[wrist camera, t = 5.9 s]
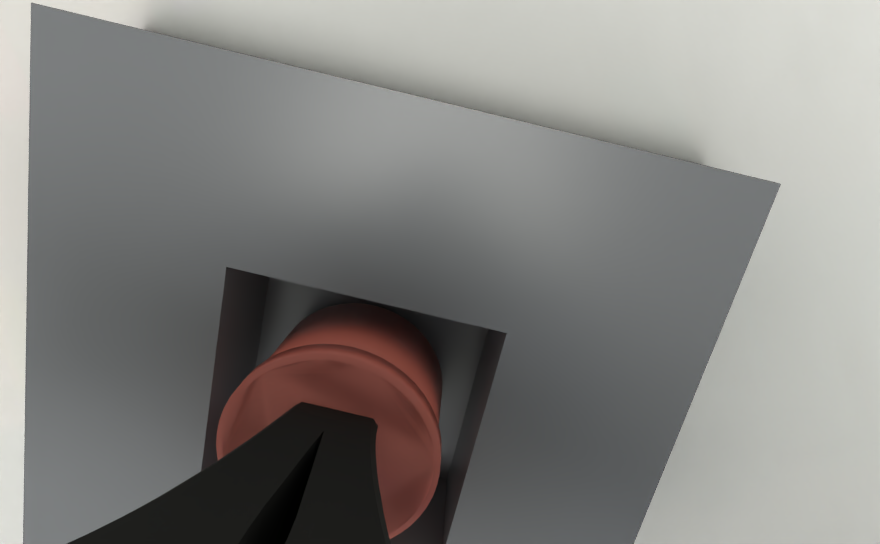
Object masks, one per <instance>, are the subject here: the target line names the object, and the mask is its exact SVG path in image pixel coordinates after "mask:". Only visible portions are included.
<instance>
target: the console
mask: <svg viewBox="0 0 880 544" xmlns="http://www.w3.org/2000/svg"><path fill="white" fill-rule="evenodd" d="M780 185H781V184H779V183H775V182H771V181H767V180H763V179H759V178H755V177H750V176H746V175H742V174H738V173H734V172H730V171H726V170H721V169H717V168H713V167H709V166H705V165H701V164H697V163H693V162H688V161H684V160H680V159H676V158H672V157H668V156H664V155H659V154H655V153H651V152H647V151H643V150H639V149H635V148H630V147H626V146H622V145H618V144H614V143H610V142H606V141H602V140H597V139H593V138H589V137H585V136H581V135H577V134H573V133H568V132H564V131H560V130H556V129H552V128H548V127H544V126H540V125H535V124H531V123H527V122H523V121H519V120H515V119H511V118H506V117H502V116H498V115H494V114H490V113H486V112H482V111H477V110H473V109H469V108H465V107H461V106H457V105H453V104H449V103H444V102H440V101H436V100H432V99H428V98H424V97H420V96H415V95H411V94H407V93H403V92H399V91H395V90H391V89H386V88H382V87H378V86H374V85H370V84H366V83H362V82H358V81H353V80H349V79H345V78H341V77H337V76H333V75H329V74H324V73H320V72H316V71H312V70H308V69H304V68H300V67H295V66H291V65H287V64H283V63H279V62H275V61H271V60H267V59H262V58H258V57H254V56H250V55H246V54H242V53H238V52H233V51H229V50H225V49H221V48H217V47H213V46H209V45H204V44H200V43H196V42H192V41H188V40H184V39H180V38H176V37H171V36H167V35H163V34H159V33H155V32H151V31H147V30H142V29H138V28H134V27H130V26H126V25H122V24H118V23H114V22H109V21H105V20H101V19H97V18H93V17H89V16H85V15H80V14H76V13H72V12H68V11H64V10H60V9H56V8H51V7H47V6H43V5H39V4H35V3H31V47H30V115H29V182H28V250H27V318H26V385H25V453H24V520H23V544H67V543H69V542H71V541H73V540H76V539H78V538H80V537H82V536H84V535H86V534H89V533H91V532H93V531H95V530H97V529H99V528H101V527H103V526H105V525H107V524H109V523H111V522H113V521H115V520H117V519H119V518H121V517H123V516H124V515H126V514H128V513H130V512H132V511H134V510H136V509H138V508H139V507H141V506H143V505H145V504H147V503H148V502H150V501H152V500H154V499H156V498H157V497H159V496H161V495H163V494H164V493H166V492H168V491H169V490H171V489H173V488H174V487H176V486H177V485H179V484H181V483H182V482H184V481H186V480H187V479H189V478H191V477H192V476H194V475H196V474H197V473H199V472H201V471H202V470H204V469H206V468H207V467H209V466H210V465H212V464H213V463H215V462H216V461H218V459H217V449H216V437H217V429H218V424H219V419H220V417H221V414H222V411H223V409H224V407H225V405H226V403H227V401H228V400H229V398H230V396H231V395H232V394H233V392H234V391H235V390H236V389H237V387H238V386H239V385H240V384H241V383H242V381H243V380H244V379H245V378H246V377H247V375H248V374H249V373H251V372H252V371H253V370H254V369H255V368H256V367H257V366H258V365H260V364H261V363H263V362H264V361H265V360H267V359H268V358H270V357H271V355H272V354H273V353H274V352H275V351H276V349H277V348H278V347H279V346H280V344H281V343H282V342H283V341H284V339H285V338H286V337H287V336H288V335H289V333H290V332H291V331H292V330H293V328H294V327H295V326H296V325H298V324H299V323H300V322H301V321H302V320H303V319H305V318H306V317H308V316H309V315H311V314H313V313H314V312H316V311H318V310H321V309H324V308H326V307H329V306H333V305H338V304H347V303H361V304H369V305H374V306H378V307H381V308H385V309H387V310H389V311H392V312H394V313H396V314H398V315H400V316H401V317H403V318H405V319H406V320H408V321H409V322H410V323H411V324H413V325H414V326H415V327H416V328H417V329H418V330H419V331H420V332H421V333H422V334H423V335H424V336H425V338H426V339H427V340H428V341H429V343H430V345H431V346H432V348H433V350H434V351H435V354H436V356H437V358H438V361H439V364H440V368H441V373H442V398H441V408H440V418H439V429H440V434H441V443H442V449H441V465H440V474H439V479H438V484H437V487H436V490H435V492H434V495H433V497H432V499H431V501H430V503H429V505H428V506H427V508H426V509H425V510H424V512H423V513H422V514H421V516H420V517H419V518H418V519H417V520H416V521H415V522H414V523H413V524H412V525H411V526H410V527H408V528H407V529H406V530H404V531H403V532H402V533H400V534H398V535H397V536H395V537H393V538H391V539H390V542H391V544H634V541H635V539H636V537H637V534H638V532H639V529H640V527H641V524H642V522H643V519H644V517H645V515H646V512H647V510H648V507H649V505H650V502H651V500H652V497H653V495H654V493H655V490H656V488H657V485H658V483H659V480H660V478H661V475H662V473H663V471H664V468H665V466H666V463H667V461H668V458H669V456H670V453H671V451H672V449H673V446H674V444H675V441H676V439H677V436H678V434H679V431H680V429H681V427H682V424H683V422H684V419H685V417H686V414H687V412H688V409H689V407H690V405H691V402H692V400H693V397H694V395H695V392H696V390H697V388H698V385H699V383H700V380H701V378H702V375H703V373H704V370H705V368H706V366H707V363H708V361H709V358H710V356H711V353H712V351H713V348H714V346H715V344H716V341H717V339H718V336H719V334H720V331H721V329H722V326H723V324H724V322H725V319H726V317H727V314H728V312H729V309H730V307H731V304H732V302H733V300H734V297H735V295H736V292H737V290H738V287H739V285H740V282H741V280H742V278H743V275H744V273H745V270H746V268H747V265H748V263H749V260H750V258H751V256H752V253H753V251H754V248H755V246H756V243H757V241H758V238H759V236H760V234H761V231H762V229H763V226H764V224H765V221H766V219H767V216H768V214H769V212H770V209H771V207H772V204H773V202H774V199H775V197H776V194H777V192H778V190H779V187H780Z"/></svg>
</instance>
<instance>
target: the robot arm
mask: <svg viewBox="0 0 880 544" xmlns="http://www.w3.org/2000/svg"><path fill="white" fill-rule="evenodd" d="M377 429H378V425H377V424H376V422H375V420H374V419H373V418H369V417H365V416H361V415H356V414H352V413H348V412H344V411H339V410H335V409H331V408H327V407H322V406H318V405H314V404H310V403H305V402H300V403H299V404H297V405H295V406H293V407H292V408H291V409H289V410H288V411H287V412H285V413H284V414H283V415H282V416H280V417H279V418H278V419H276V420H275V421H274V422H272V423H271V424H270V425H268V426H267V427H265V428H264V429H263V430H261V431H260V432H259V433H257V434H256V435H254V436H253V437H252V438H250V439H249V440H247V441H246V442H244V443H243V444H241V445H240V446H239V447H237V448H236V449H234V450H233V451H231V452H230V453H228V454H227V455H225V456H224V457H222V458H221V459H219V460H218V461H216V462H215V463H213V464H212V465H210V466H209V467H207V468H206V469H204V470H202V471H201V472H199V473H197V474H196V475H194V476H192V477H191V478H189V479H187V480H186V481H184V482H182V483H181V484H179V485H177V486H176V487H174V488H173V489H171V490H169V491H168V492H166V493H164V494H163V495H161V496H159V497H157V498H156V499H154V500H152V501H150V502H148V503H147V504H145V505H143V506H141V507H139V508H138V509H136V510H134V511H132V512H130V513H128V514H126V515H124V516H123V517H121V518H119V519H117V520H115V521H113V522H111V523H109V524H107V525H105V526H103V527H101V528H99V529H97V530H95V531H93V532H91V533H89V534H86V535H84V536H82V537H80V538H78V539H76V540H73V541H71V542H69V543H67V544H391V542H390V538H389V534H388V531H387V526H386V521H385V517H384V512H383V506H382V500H381V494H380V489H379V483H378V474H377V464H376V434H377Z"/></svg>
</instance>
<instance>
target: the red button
mask: <svg viewBox="0 0 880 544" xmlns="http://www.w3.org/2000/svg"><path fill="white" fill-rule="evenodd" d="M441 398H442V373H441V368H440V364H439V361H438V358H437V356H436V354H435V351H434V350H433V348H432V346H431V345H430V343H429V341H428V340H427V339H426V338H425V336H424V335H423V334H422V333H421V332H420V331H419V330H418V329H417V328H416V327H415V326H414V325H413V324H411V323H410V322H409V321H408V320H406V319H405V318H403V317H401V316H400V315H398V314H396V313H394V312H392V311H389V310H387V309H385V308H381V307H378V306H374V305H369V304H361V303H347V304H338V305H333V306H329V307H326V308H324V309H321V310H318V311H316V312H314V313H313V314H311V315H309V316H308V317H306V318H305V319H303V320H302V321H301V322H300V323H299V324H298V325H296V326H295V327H294V328H293V330H292V331H291V332H290V333H289V335H288V336H287V337H286V338H285V339H284V341H283V342H282V343H281V344H280V346H279V347H278V348H277V349H276V351H275V352H274V353H273V354H272V355H271V357H270V358H268V359H267V360H265V361H264V362H263V363H261V364H260V365H258V366H257V367H256V368H255V369H254V370H253V371H252V372H251V373H249V374H248V375H247V377H246V378H245V379H244V380H243V381H242V383H241V384H240V385H239V386H238V387H237V389H236V390H235V391H234V392H233V394H232V395H231V396H230V398H229V400H228V401H227V403H226V405H225V407H224V409H223V411H222V414H221V417H220V419H219V424H218V429H217V437H216V449H217V459H218V460H219V459H221V458H222V457H224V456H225V455H227V454H228V453H230V452H231V451H233V450H234V449H236V448H237V447H239V446H240V445H241V444H243V443H244V442H246V441H247V440H249V439H250V438H252V437H253V436H254V435H256V434H257V433H259V432H260V431H261V430H263V429H264V428H265V427H267V426H268V425H270V424H271V423H272V422H274V421H275V420H276V419H278V418H279V417H280V416H282V415H283V414H284V413H285V412H287V411H288V410H289V409H291V408H292V407H293V406H295V405H297V404H299V403H300V402H305V403H310V404H314V405H318V406H322V407H327V408H331V409H335V410H339V411H344V412H348V413H352V414H356V415H361V416H365V417H369V418H373V419H374V420H375V422H376V424H377V425H378V429H377V434H376V464H377V474H378V483H379V489H380V494H381V500H382V506H383V512H384V517H385V521H386V526H387V531H388V534H389V538H390V539H391V538H393V537H395V536H397V535H398V534H400V533H402V532H403V531H404V530H406V529H407V528H408V527H410V526H411V525H412V524H413V523H414V522H415V521H416V520H417V519H418V518H419V517H420V516H421V514H422V513H423V512H424V510H425V509H426V508H427V506H428V505H429V503H430V501H431V499H432V497H433V495H434V492H435V490H436V487H437V484H438V479H439V474H440V465H441V449H442V443H441V434H440V429H439V418H440V408H441Z"/></svg>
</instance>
